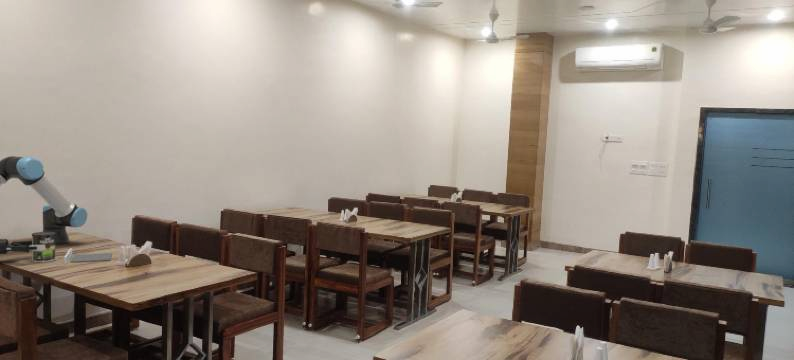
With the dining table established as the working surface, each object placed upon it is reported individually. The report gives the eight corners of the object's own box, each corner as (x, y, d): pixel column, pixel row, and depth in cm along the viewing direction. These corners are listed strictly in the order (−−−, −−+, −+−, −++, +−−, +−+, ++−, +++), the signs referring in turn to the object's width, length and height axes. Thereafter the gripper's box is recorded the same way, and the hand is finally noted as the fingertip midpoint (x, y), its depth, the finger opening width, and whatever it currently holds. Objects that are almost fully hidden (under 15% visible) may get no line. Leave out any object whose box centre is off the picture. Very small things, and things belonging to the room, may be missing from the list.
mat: (74, 255, 312) (74, 254, 312) (111, 254, 319) (111, 253, 319) (70, 262, 295) (70, 261, 295) (109, 260, 302) (109, 259, 302)
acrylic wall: (70, 254, 314) (70, 248, 313) (72, 254, 314) (72, 248, 314) (64, 264, 292) (64, 257, 291) (66, 264, 292) (66, 257, 292)
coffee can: (58, 260, 299) (58, 233, 298) (37, 263, 291) (36, 235, 290) (50, 257, 306) (50, 230, 305) (28, 260, 297) (28, 233, 296)
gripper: (3, 249, 302) (51, 247, 310) (-9, 259, 279) (42, 257, 287) (3, 235, 301) (50, 233, 309) (-9, 243, 278) (42, 242, 287)
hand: (47, 245), depth 298 cm, fingers open, 13 cm apart
